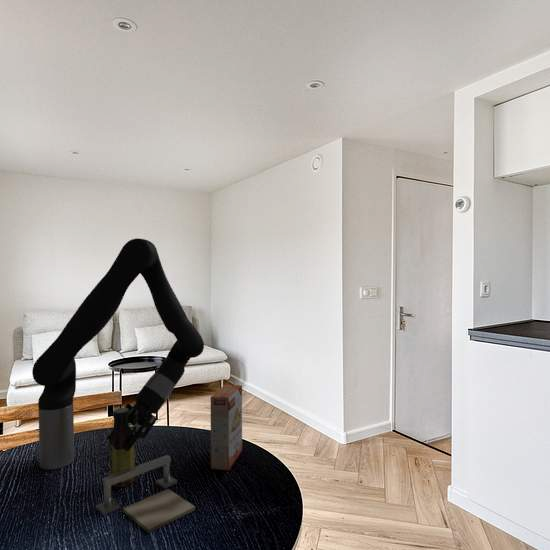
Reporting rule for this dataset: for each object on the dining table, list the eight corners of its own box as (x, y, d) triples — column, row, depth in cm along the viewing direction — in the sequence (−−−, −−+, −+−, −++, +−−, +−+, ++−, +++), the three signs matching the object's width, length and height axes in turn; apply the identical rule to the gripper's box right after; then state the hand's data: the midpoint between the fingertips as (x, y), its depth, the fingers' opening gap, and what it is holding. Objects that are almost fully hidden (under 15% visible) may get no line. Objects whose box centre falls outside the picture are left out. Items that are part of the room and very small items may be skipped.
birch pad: (123, 511, 98) (123, 508, 98) (168, 491, 107) (168, 488, 107) (148, 533, 90) (148, 529, 90) (195, 510, 99) (195, 506, 99)
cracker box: (230, 471, 117) (229, 397, 117) (209, 470, 119) (208, 396, 118) (243, 450, 131) (242, 384, 131) (225, 449, 132) (224, 383, 132)
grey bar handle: (95, 508, 100) (95, 478, 100) (169, 478, 114) (169, 451, 114) (102, 515, 97) (102, 484, 97) (177, 483, 111) (177, 456, 111)
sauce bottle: (115, 477, 115) (114, 405, 115) (138, 476, 115) (136, 405, 115) (106, 489, 109) (104, 413, 108) (130, 489, 109) (128, 413, 108)
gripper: (134, 380, 122) (95, 431, 114) (159, 390, 112) (119, 445, 104) (151, 394, 126) (115, 444, 118) (177, 405, 116) (139, 459, 108)
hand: (117, 444), depth 111 cm, fingers open, 8 cm apart
